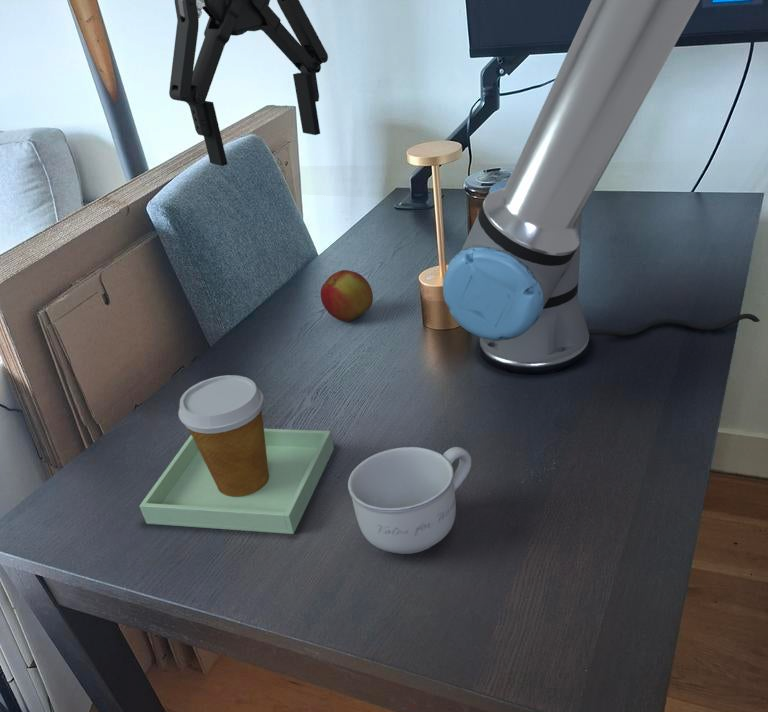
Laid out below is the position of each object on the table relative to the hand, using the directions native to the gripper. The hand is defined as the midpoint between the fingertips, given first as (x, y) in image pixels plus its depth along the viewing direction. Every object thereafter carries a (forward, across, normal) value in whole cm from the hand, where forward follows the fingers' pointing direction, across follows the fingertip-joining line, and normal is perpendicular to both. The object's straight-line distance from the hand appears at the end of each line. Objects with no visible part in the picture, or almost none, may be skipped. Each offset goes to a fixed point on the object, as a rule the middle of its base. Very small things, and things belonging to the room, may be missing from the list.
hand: (266, 148), depth 92 cm
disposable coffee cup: (+30, +22, +16) cm, 40 cm away
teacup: (+31, +13, +37) cm, 50 cm away
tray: (+31, +22, +16) cm, 41 cm away
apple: (+31, -14, -9) cm, 35 cm away
